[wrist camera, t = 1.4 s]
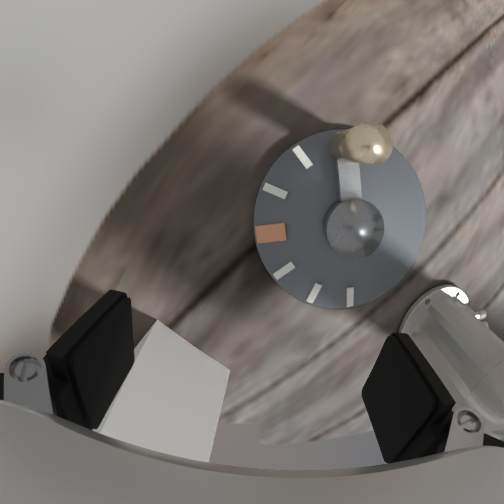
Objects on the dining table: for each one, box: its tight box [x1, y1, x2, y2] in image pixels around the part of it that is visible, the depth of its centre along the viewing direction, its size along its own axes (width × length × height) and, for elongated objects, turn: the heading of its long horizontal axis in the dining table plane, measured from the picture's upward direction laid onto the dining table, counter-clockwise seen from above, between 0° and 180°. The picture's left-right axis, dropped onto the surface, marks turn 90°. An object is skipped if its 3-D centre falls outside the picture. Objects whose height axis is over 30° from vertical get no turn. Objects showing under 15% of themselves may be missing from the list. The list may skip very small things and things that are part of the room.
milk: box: [93, 320, 230, 462], centre depth 24 cm, size 12×12×26 cm
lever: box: [323, 122, 393, 260], centre depth 23 cm, size 13×6×8 cm, turn 7°
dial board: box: [254, 129, 426, 309], centre depth 29 cm, size 20×20×1 cm
